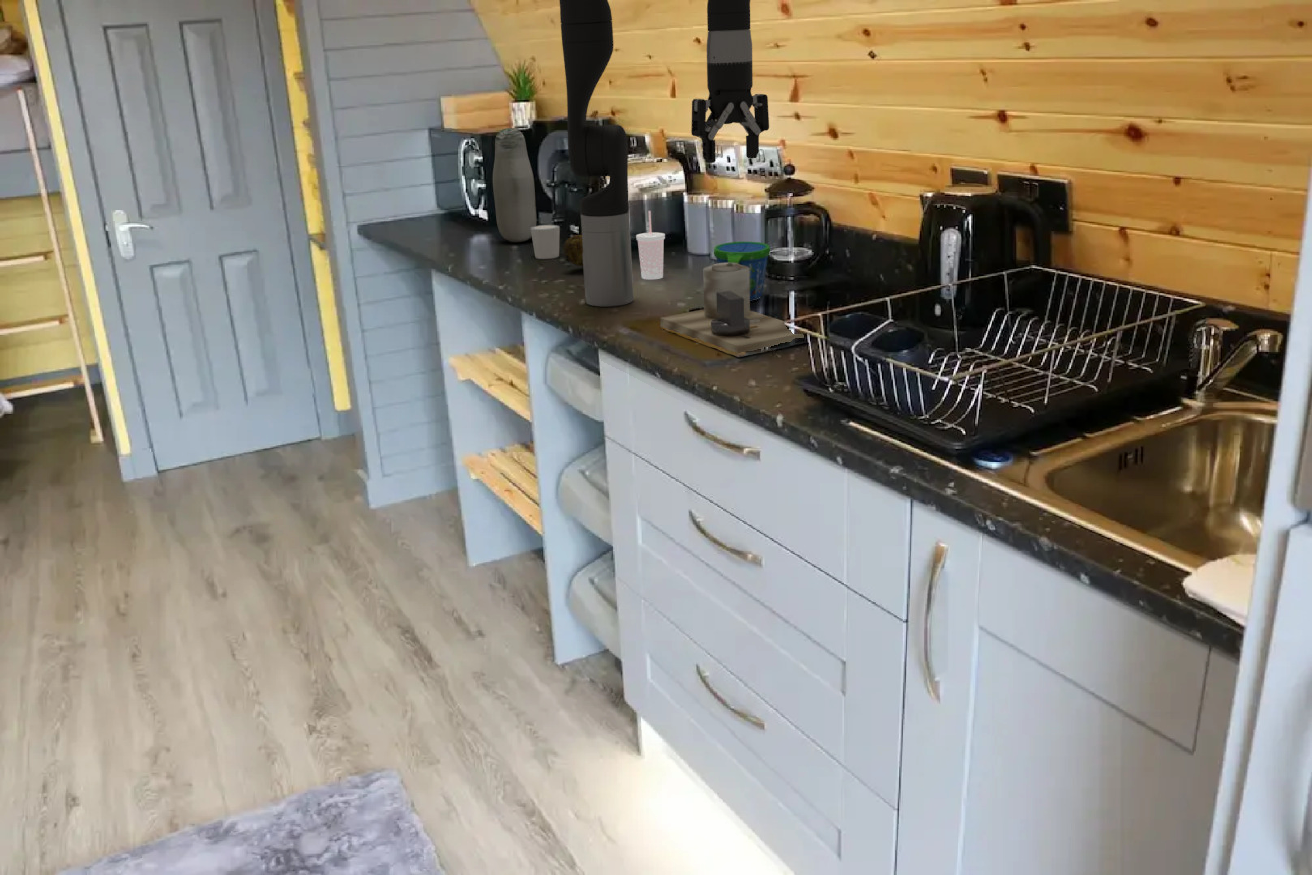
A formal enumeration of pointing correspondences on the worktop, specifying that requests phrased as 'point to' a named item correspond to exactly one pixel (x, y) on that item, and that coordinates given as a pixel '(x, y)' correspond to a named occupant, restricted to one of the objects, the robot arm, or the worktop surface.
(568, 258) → the potato
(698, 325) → the base
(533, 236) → the white tapered cup
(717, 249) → the snack cup
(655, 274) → the beverage cup
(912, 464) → the worktop surface
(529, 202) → the grey bottle
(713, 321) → the dark grey rotary knob
